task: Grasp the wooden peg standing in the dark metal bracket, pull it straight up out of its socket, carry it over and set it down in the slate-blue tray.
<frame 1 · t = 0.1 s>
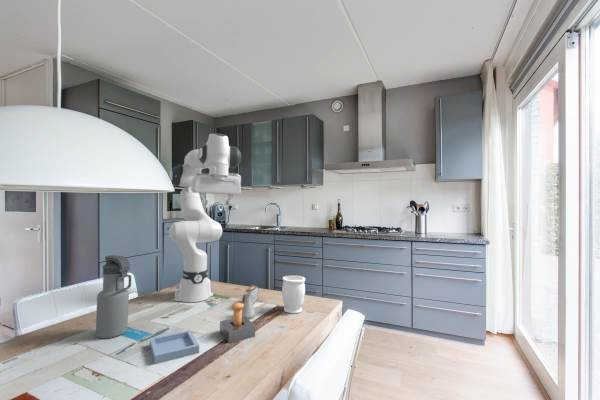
hand: (216, 204, 121), 48 cm above the table, tool pointing down, fingers open, 8 cm apart
water bottle: (112, 333, 106), on the table
wooden peg: (237, 319, 108), in the bracket
bracket: (237, 334, 108), on the table
tin: (250, 305, 139), on the table
flask: (247, 316, 125), on the table
jar: (293, 310, 134), on the table
tray: (173, 349, 96), on the table
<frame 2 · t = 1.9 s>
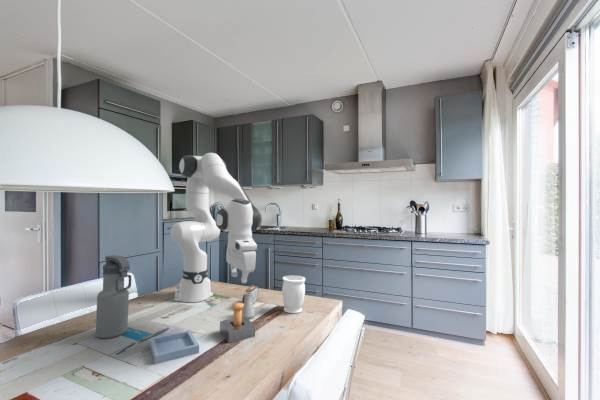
hand: (238, 279, 108), 20 cm above the table, tool pointing down, fingers open, 8 cm apart
nothing on the table moved.
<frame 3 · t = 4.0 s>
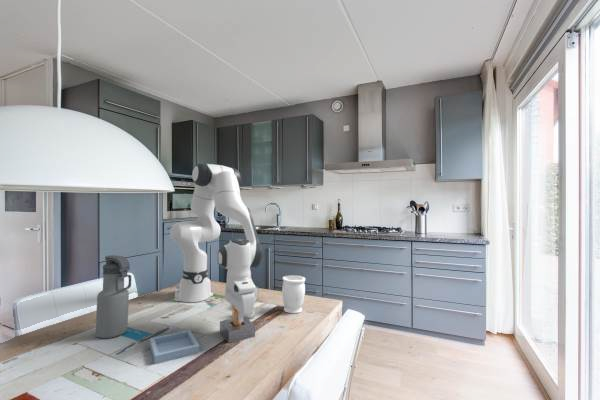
hand: (237, 319, 108), 6 cm above the table, tool pointing down, fingers closed on wooden peg, 4 cm apart
wooden peg: (237, 319, 108), in the bracket, touching gripper
everything else where it was.
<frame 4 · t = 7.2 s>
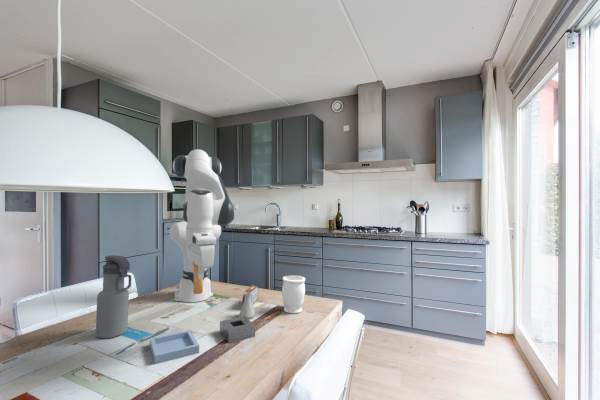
hand: (198, 276, 100), 23 cm above the table, tool pointing down, fingers closed on wooden peg, 4 cm apart
wooden peg: (198, 276, 100), point 23 cm above the table, touching gripper
everything else where it was.
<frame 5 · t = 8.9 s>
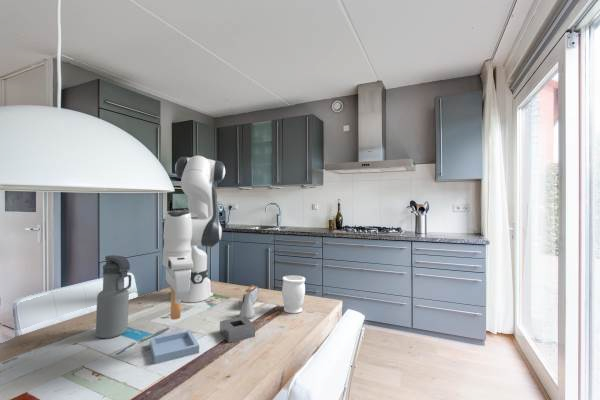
hand: (175, 300, 96), 16 cm above the table, tool pointing down, fingers closed on wooden peg, 4 cm apart
wooden peg: (175, 301, 96), point 16 cm above the table, touching gripper
everything else where it was.
when the fingers open (7 cm above the table, at t = 10.5 s): wooden peg drops 1 cm, resting on tray.
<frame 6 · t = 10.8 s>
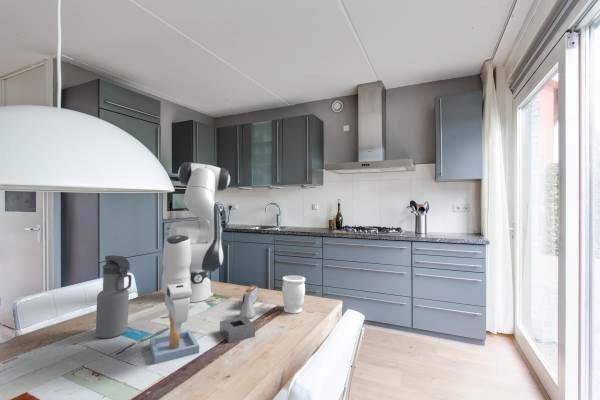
hand: (174, 326, 96), 7 cm above the table, tool pointing down, fingers open, 7 cm apart
wooden peg: (174, 330, 96), in the tray, point 6 cm above the table
everything else where it was.
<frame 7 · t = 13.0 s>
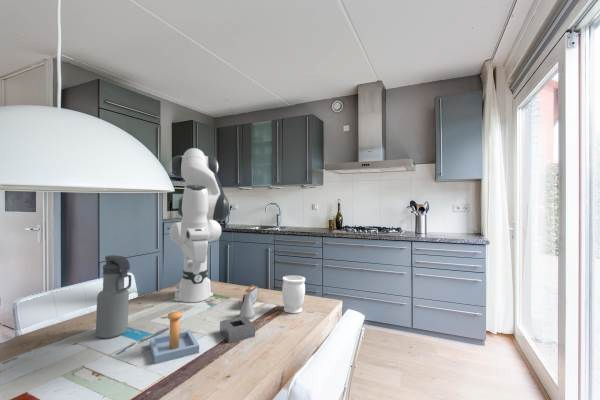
hand: (192, 270, 101), 25 cm above the table, tool pointing down, fingers open, 8 cm apart
nothing on the table moved.
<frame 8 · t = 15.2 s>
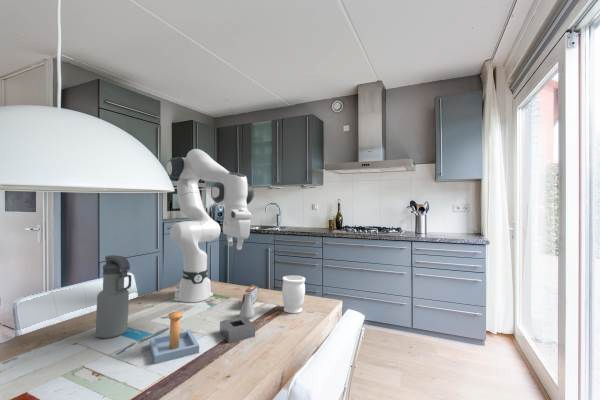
hand: (234, 247, 116), 31 cm above the table, tool pointing down, fingers open, 8 cm apart
nothing on the table moved.
at the end: wooden peg inside the target area on the tray (0.1 cm from its centre), point 6.1 cm above the tray's base; wooden peg touching tray; the gripper is holding nothing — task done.
